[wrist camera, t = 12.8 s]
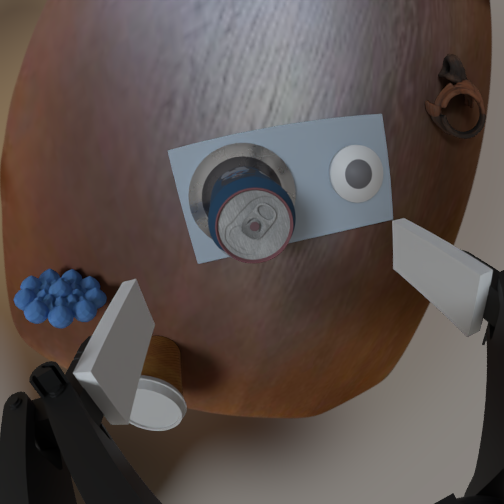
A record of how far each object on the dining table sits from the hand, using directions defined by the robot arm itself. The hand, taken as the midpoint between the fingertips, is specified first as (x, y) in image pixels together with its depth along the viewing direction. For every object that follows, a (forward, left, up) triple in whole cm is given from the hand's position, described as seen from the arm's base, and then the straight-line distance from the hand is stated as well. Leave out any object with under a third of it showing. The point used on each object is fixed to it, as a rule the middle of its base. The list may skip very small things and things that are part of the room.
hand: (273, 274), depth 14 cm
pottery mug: (-32, -9, -23) cm, 40 cm away
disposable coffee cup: (+17, +20, -23) cm, 35 cm away
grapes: (+25, +6, -23) cm, 34 cm away
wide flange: (0, 0, -21) cm, 21 cm away
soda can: (0, 0, -20) cm, 20 cm away
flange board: (-6, 0, -22) cm, 23 cm away
